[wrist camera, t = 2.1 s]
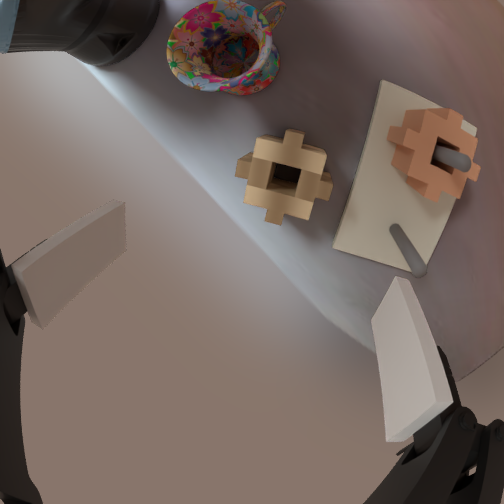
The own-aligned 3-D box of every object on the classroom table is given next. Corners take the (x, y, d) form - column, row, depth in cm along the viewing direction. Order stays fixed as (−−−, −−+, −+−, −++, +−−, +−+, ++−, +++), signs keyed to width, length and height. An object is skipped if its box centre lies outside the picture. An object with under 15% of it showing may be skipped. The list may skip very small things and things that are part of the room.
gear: (241, 195, 34) (228, 211, 29) (256, 120, 29) (245, 121, 24) (316, 216, 34) (317, 235, 28) (338, 141, 29) (344, 146, 23)
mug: (241, 113, 29) (211, 113, 20) (193, 65, 27) (147, 51, 18) (318, 53, 24) (321, 24, 15) (264, 5, 22) (244, -33, 13)
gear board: (331, 243, 35) (337, 295, 25) (380, 80, 24) (413, 65, 14) (418, 270, 34) (444, 322, 24) (472, 127, 23) (524, 139, 13)
